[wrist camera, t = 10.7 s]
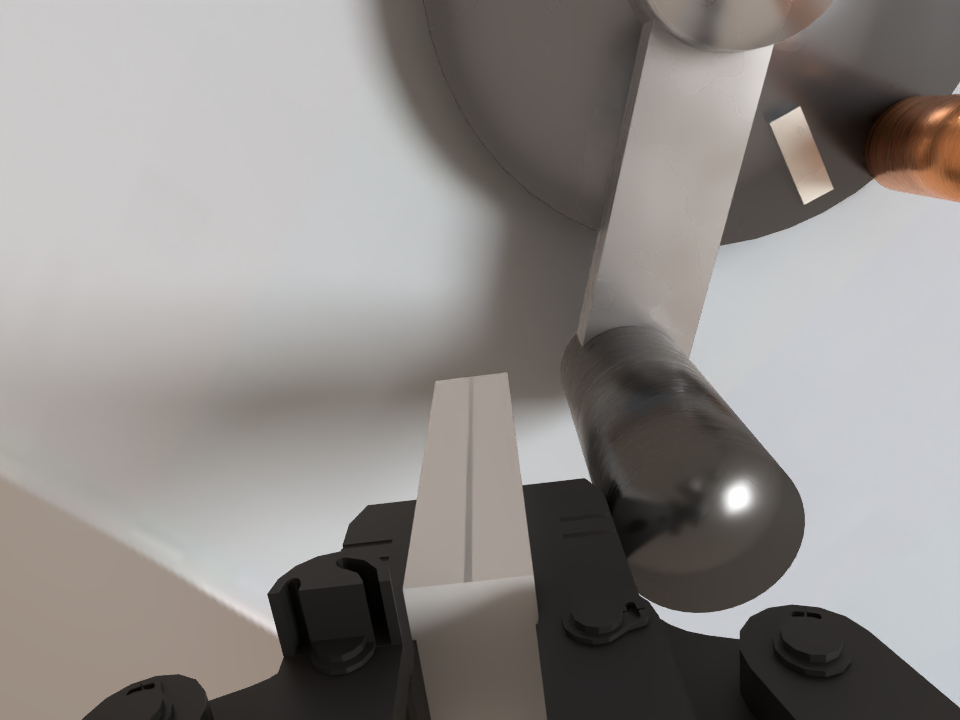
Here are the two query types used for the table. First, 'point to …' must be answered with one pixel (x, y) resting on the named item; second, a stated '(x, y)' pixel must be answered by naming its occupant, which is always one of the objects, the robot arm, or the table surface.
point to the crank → (680, 316)
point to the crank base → (778, 118)
